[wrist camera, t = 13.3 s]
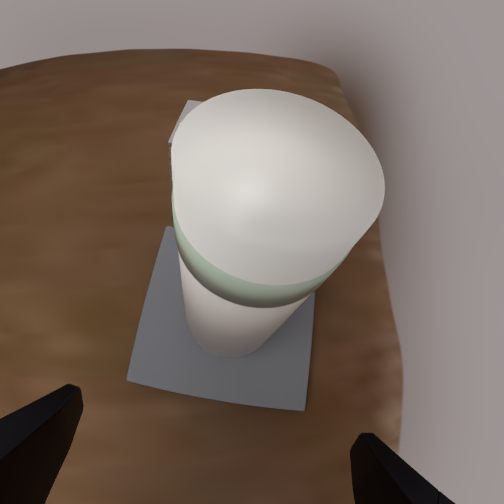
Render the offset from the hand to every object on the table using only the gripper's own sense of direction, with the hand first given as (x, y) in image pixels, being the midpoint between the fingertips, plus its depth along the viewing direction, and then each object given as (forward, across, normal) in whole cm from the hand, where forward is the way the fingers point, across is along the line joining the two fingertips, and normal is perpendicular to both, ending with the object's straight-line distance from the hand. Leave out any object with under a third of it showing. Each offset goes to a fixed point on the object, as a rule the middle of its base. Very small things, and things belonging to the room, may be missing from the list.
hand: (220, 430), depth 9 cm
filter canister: (+10, 0, +1) cm, 10 cm away
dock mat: (+11, 0, +2) cm, 11 cm away
